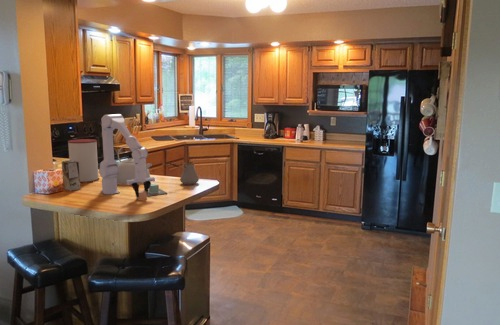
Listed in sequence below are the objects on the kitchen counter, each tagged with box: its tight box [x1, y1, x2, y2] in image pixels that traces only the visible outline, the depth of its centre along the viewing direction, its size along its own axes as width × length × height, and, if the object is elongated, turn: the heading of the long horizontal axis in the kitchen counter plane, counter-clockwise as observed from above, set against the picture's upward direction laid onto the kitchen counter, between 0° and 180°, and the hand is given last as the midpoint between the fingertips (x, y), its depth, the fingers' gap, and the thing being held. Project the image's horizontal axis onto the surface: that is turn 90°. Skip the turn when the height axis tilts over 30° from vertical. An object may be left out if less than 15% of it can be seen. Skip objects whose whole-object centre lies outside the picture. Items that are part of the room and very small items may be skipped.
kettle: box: [117, 144, 153, 186], centre depth 263 cm, size 25×23×22 cm
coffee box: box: [61, 159, 81, 192], centre depth 242 cm, size 9×6×16 cm
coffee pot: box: [165, 161, 200, 186], centre depth 253 cm, size 21×12×15 cm, turn 132°
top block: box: [136, 189, 148, 201], centre depth 222 cm, size 4×4×4 cm
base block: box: [149, 183, 160, 193], centre depth 234 cm, size 4×4×4 cm
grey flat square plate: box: [147, 188, 168, 198], centre depth 234 cm, size 11×11×1 cm
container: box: [67, 138, 100, 184], centre depth 265 cm, size 17×17×25 cm
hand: (141, 196), depth 222 cm, fingers closed on top block, 4 cm apart
